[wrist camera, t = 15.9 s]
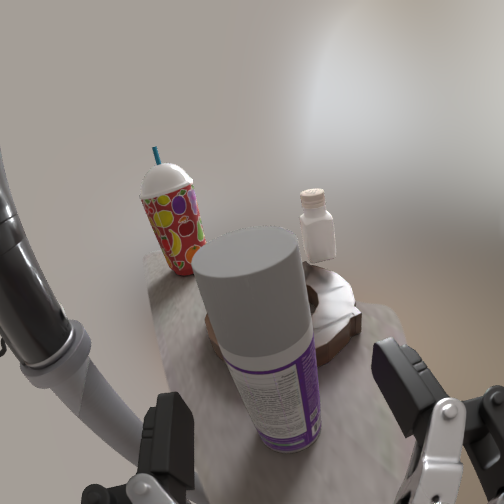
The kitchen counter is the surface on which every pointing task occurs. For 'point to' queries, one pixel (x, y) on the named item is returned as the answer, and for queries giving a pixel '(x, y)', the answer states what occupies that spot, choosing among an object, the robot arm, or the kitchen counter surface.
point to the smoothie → (173, 214)
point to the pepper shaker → (317, 227)
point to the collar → (323, 313)
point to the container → (264, 330)
